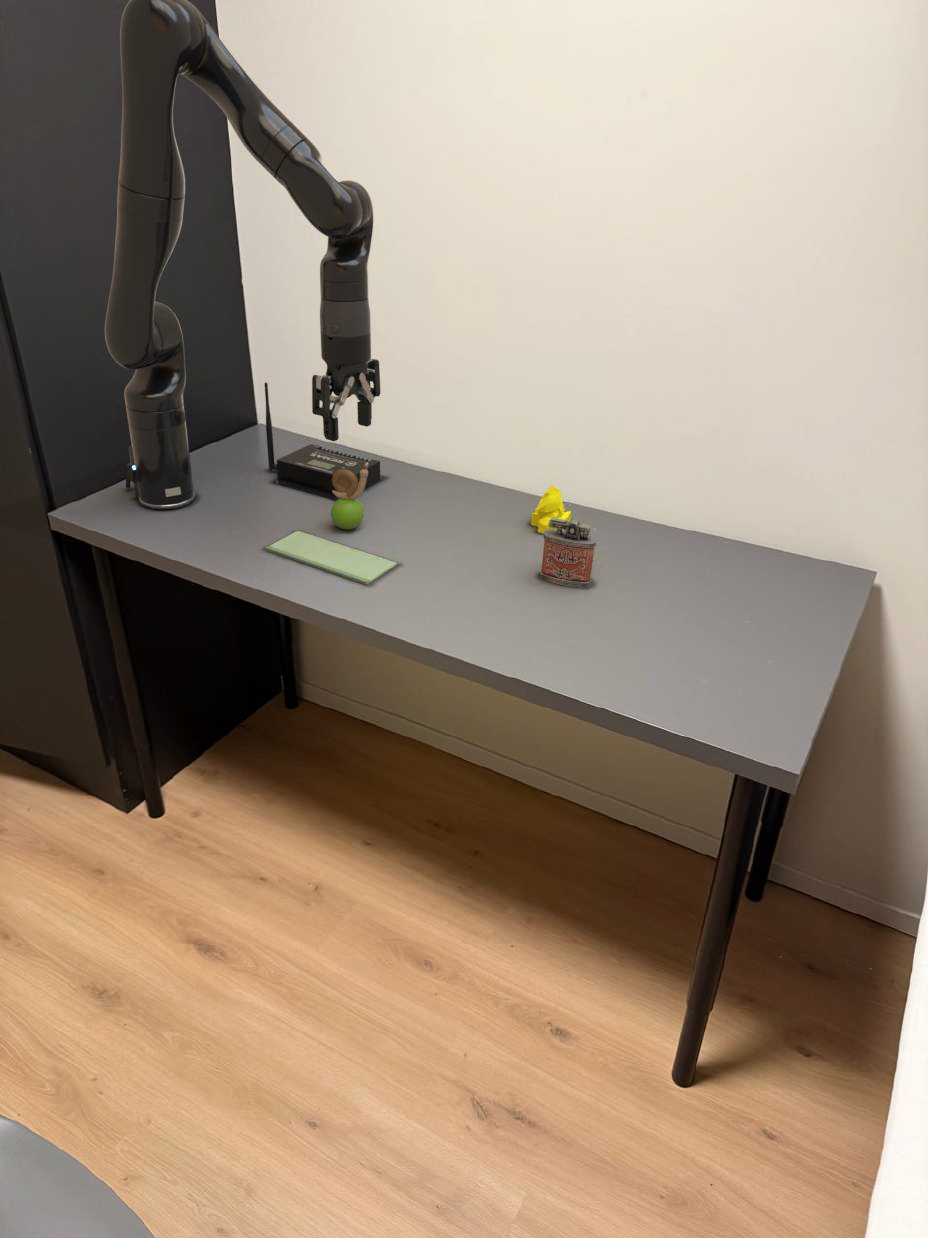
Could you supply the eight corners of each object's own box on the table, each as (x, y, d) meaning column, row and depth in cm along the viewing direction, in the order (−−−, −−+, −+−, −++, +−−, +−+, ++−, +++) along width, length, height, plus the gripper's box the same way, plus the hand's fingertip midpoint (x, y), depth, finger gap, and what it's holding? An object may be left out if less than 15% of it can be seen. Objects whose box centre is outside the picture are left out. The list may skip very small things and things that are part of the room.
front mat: (265, 550, 147) (265, 547, 147) (297, 532, 153) (297, 529, 153) (366, 584, 138) (366, 581, 138) (397, 565, 144) (397, 562, 144)
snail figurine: (364, 537, 152) (363, 469, 146) (327, 532, 153) (324, 464, 147) (373, 524, 157) (372, 457, 151) (337, 519, 158) (335, 453, 152)
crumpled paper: (574, 520, 162) (578, 478, 158) (558, 537, 156) (562, 494, 152) (543, 512, 164) (547, 471, 160) (526, 529, 158) (529, 487, 154)
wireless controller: (385, 477, 175) (385, 388, 166) (342, 502, 164) (339, 408, 156) (300, 455, 183) (296, 369, 174) (254, 477, 172) (247, 387, 164)
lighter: (593, 580, 143) (600, 521, 138) (588, 589, 140) (595, 530, 135) (542, 570, 145) (548, 512, 140) (537, 579, 142) (542, 520, 137)
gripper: (354, 316, 145) (356, 416, 153) (295, 333, 134) (300, 439, 143) (393, 323, 142) (393, 425, 150) (335, 341, 131) (339, 450, 139)
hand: (348, 432), depth 146 cm, fingers open, 8 cm apart
